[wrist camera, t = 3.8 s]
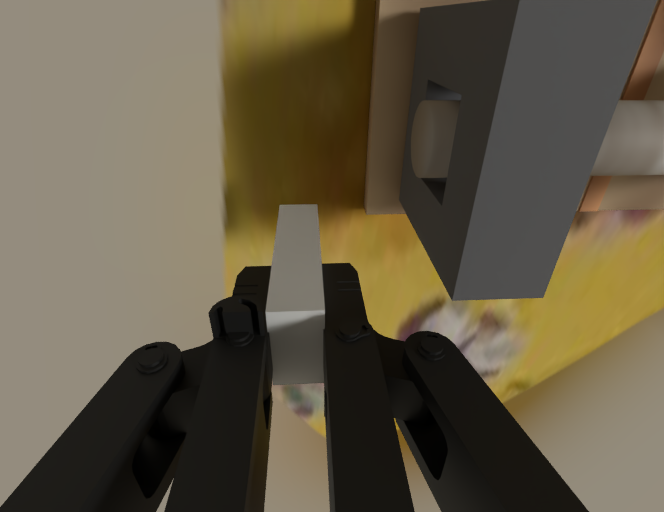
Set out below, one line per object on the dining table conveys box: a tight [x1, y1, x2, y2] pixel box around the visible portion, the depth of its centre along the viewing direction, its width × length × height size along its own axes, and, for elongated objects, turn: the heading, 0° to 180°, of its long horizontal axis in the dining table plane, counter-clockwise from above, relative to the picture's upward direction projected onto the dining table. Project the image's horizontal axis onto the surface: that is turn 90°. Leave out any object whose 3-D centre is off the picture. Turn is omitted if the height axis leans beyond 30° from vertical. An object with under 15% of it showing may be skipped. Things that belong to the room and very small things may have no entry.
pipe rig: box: [364, 0, 664, 214], centre depth 15 cm, size 18×10×8 cm, turn 89°
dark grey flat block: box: [399, 0, 657, 301], centre depth 13 cm, size 3×8×8 cm, turn 179°
